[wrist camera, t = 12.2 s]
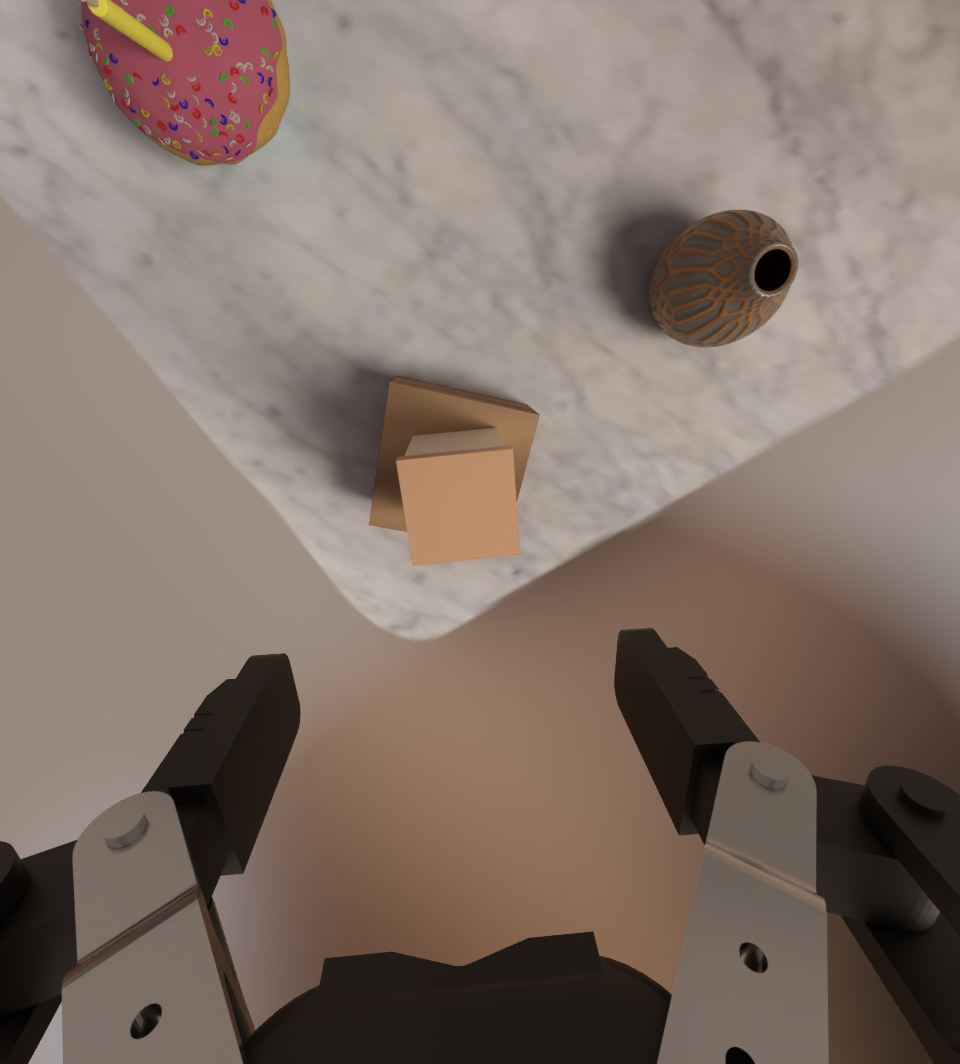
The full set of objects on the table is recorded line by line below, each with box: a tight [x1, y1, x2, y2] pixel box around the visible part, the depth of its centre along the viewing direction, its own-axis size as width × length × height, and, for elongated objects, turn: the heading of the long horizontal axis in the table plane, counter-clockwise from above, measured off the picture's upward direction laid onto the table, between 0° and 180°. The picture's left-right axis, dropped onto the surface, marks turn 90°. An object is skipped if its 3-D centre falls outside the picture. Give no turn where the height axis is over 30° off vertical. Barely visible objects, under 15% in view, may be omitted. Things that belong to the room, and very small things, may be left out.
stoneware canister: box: [396, 427, 520, 566], centre depth 26 cm, size 5×5×7 cm
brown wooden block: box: [369, 376, 539, 532], centre depth 31 cm, size 9×9×5 cm
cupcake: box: [78, 0, 290, 165], centre depth 20 cm, size 9×8×12 cm
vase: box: [650, 210, 798, 347], centre depth 26 cm, size 7×7×9 cm
